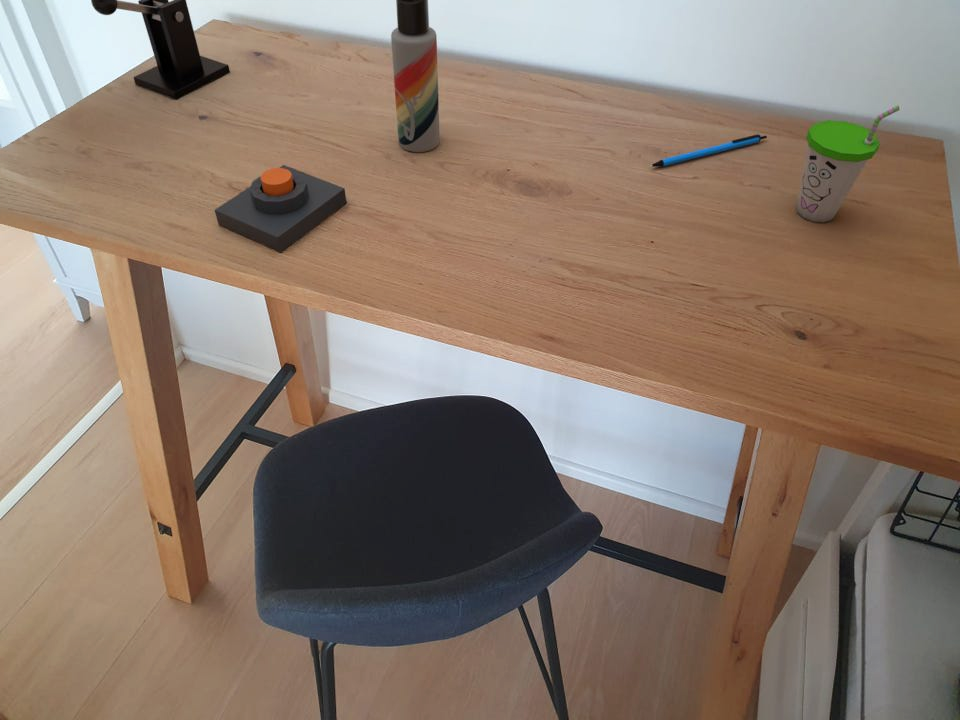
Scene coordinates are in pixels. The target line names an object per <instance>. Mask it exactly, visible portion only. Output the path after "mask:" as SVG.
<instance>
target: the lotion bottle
mask: <svg viewBox="0 0 960 720" xmlns="http://www.w3.org/2000/svg"><path fill="white" fill-rule="evenodd" d="M395 2H396V3H395V5H396V22H397V23H396V24H397V27H396V28H394V29H393V30H392V32H391V34H390V41H391V43H390V44H391V55H392V56H391V57H392V70H393V71H392V72H393V84H394V98H395V113H396V129H397V137H398V145H400V147H402V149H404V150H405V151H408V152H412V153H425V152H429V151H433V150H434V149H435V148H437V146H438V145H439V144H440V107H439V106H440V105H439V104H440V103H439V100H440V99H439V71H438V70H439V69H438V39H437V37H438V36H437V32H436V30H435V29H434V28H432V27H431V26H430V17H429V15H430V14H429V0H395Z"/></svg>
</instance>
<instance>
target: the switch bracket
mask: <svg viewBox="0 0 960 720" xmlns="http://www.w3.org/2000/svg"><path fill="white" fill-rule="evenodd" d="M153 1H158V2H163V3H166V4H163V5H161V6H158V7H157V8H158V11H159V15H160V18H161V21H159V20H156V19H153V18H152V14H147V13H141V15H142V19H143V23H144V26H145V30H146V32H147V36H148V39H149V42H150V46H151V49H152V52H153V56H154V59H155V61H156V66H154V67H151V68H150V69H148V70H146V71H143V72H141V73H139V74H136V75H135V76H133V81H134V84H135V85H136V86H138V87H141V88H144V89H147V90H149V91H152V92H155V93H158V94H160V95H162V96H165V97H168V98H171V99H175V100H179V99H181V98H182V97H184V96H186V95H189V94H190V93H193V92H194V91H196V90H198V89H200V88H202V87H204V86H206V85H208V84H210V83H212V82H214V81H216V80H217V79H220V78H221V77H224V76H225V75H227V74H229V73H230V72H231V71H230V65H229V64H227V63H223V62H221V61H218V60H214V59H212V58H208V57H206V56H203V55H201V54H200V50H199V46H198V42H197V38H196V35H195V30H194V27H193V23H192V19H191V14H190V11H189V6H188V3H187V0H171V1H170V0H138V1H137V3H138V4H143V5H148V6H153Z"/></svg>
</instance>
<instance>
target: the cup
mask: <svg viewBox="0 0 960 720" xmlns="http://www.w3.org/2000/svg"><path fill="white" fill-rule="evenodd" d="M898 111H900V106H899V105H896V106H893V107H892V108H890V109H888V110H886V111H884V112H882V113H880V114H878V115H877V116H876V117H875V119H874V120H873V123H872V125H871V127H870V129H867V128H866V127H865V126H862V125H859V124H855V123H853V122H849V121H843V120H824V121H819V122H815V123H813V125H812V126H810V128H809V129H808V131H807V134H806V137H805V138H806V141H807V149H806V155H805V159H804V166H803V170H802V176H801V181H800V187H799V191H798V197H797V202H796V208H795V209H796V213H797V215H799V216H800V217H801V218H803V219H804V220H807V221H809V222H812V223H820V224H825V223H828V222H832V220H833V219H834V218H835V216H836V215H837V213H838V211H839V210H840V208H841V206H842V204H843V203H844V202H845V200H846V198H847V196H848V195H849V193H850V191H851V190H852V188H853V187H854V184H855V183H856V181H857V180H858V178H859V175H860V174H861V173H862V171H863V170H864V168H865V166H866V164H867V162H868V161H869V160H871V159H873V157H874V156H875V155H876V154H877V152H878V150H879V148H880V146H881V142H880V140H879V138H878V136H877V135H876V131H877V130H878V127H879V125H880V122H881V121H882V120H883V119H884V118H886V117H889V116H890V115H893V114H895V113H897V112H898Z"/></svg>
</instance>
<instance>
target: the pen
mask: <svg viewBox="0 0 960 720" xmlns="http://www.w3.org/2000/svg"><path fill="white" fill-rule="evenodd" d="M767 138H768V136H767V135H762V136H761V135H760V134H758V133H757V134H752V135H750V136H745V137H740V138H737V139H733V140H731V141H729V142H727V143H721V144H719V145H714V146H710V147H707V148H701V149H699V150H695V151H690V152H687V153H683V154H679V155H674V156H671V157H666V158H663V159H662V158H661V159H660V160H658V161H655V162H654V163H652V164H651V165H650V167H666V166H671V165H674V164H678V163H681V162H686V161H689V160H694V159H696V158H701V157H705V156H709V155H714V154H717V153H721V152H724V151H728V150H732V149H737V148H740V147H745V146H748V145H753V144H756V143H760V142H761V140H764V139H767Z"/></svg>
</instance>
